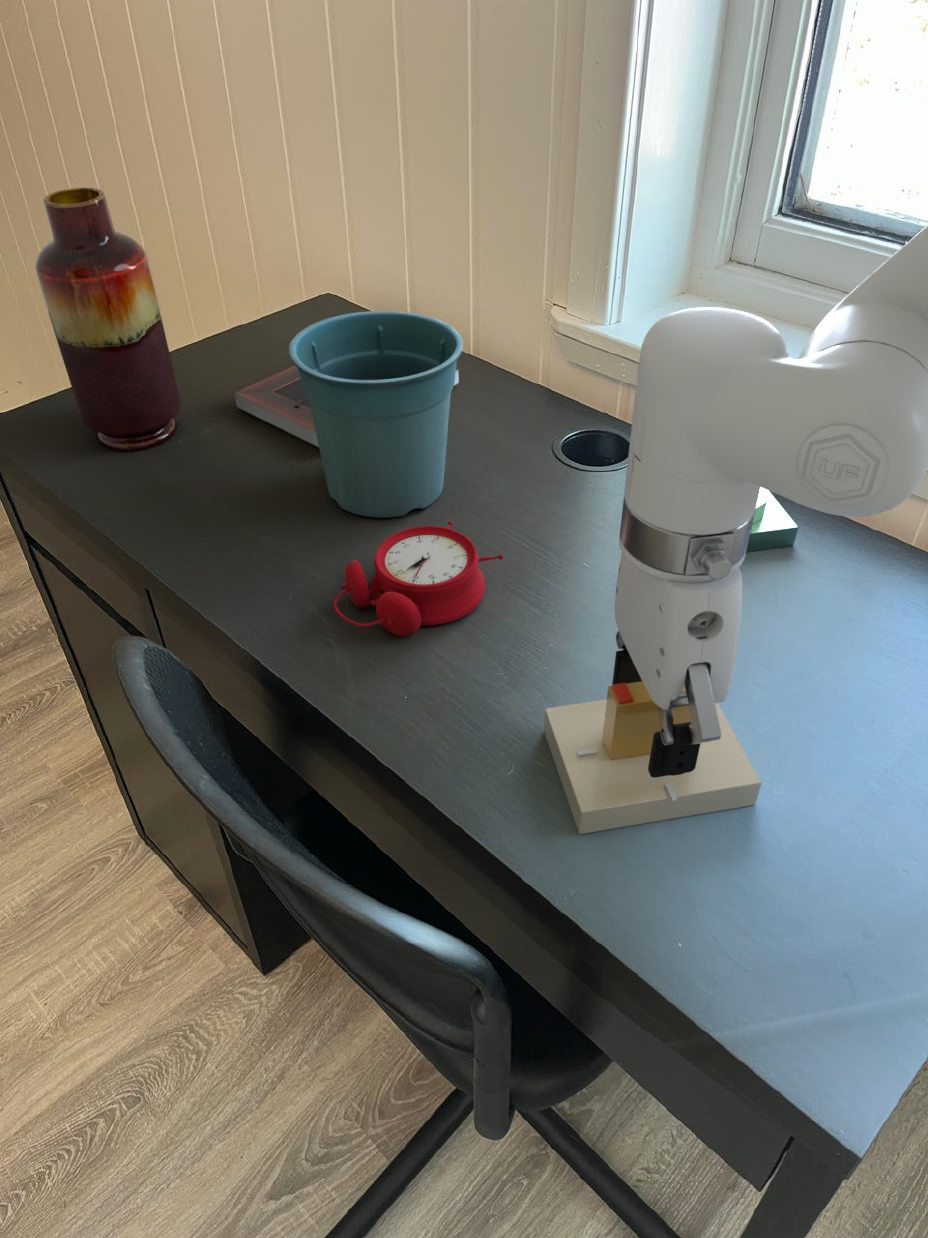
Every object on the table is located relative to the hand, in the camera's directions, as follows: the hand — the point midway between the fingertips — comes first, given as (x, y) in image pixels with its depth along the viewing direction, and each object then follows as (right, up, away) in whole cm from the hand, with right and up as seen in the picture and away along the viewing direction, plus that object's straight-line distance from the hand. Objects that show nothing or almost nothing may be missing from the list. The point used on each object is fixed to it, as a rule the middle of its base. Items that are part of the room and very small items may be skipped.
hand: (651, 728), depth 67 cm
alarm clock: (-18, +9, +18) cm, 27 cm away
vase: (-51, +29, +42) cm, 73 cm away
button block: (+13, +17, +26) cm, 34 cm away
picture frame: (-27, +35, +48) cm, 65 cm away
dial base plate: (0, -3, +3) cm, 4 cm away
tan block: (0, -1, +1) cm, 2 cm away
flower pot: (-21, +22, +32) cm, 44 cm away
